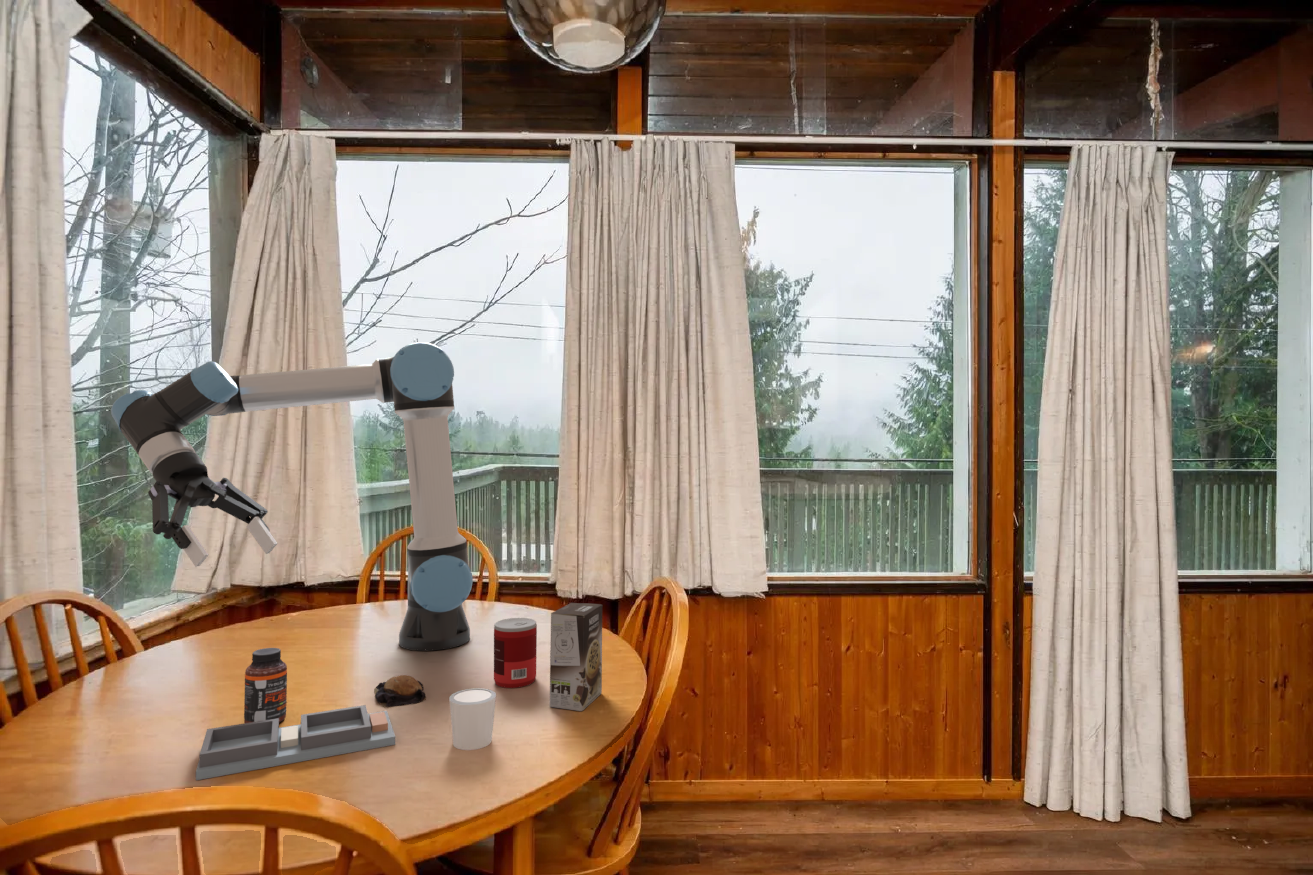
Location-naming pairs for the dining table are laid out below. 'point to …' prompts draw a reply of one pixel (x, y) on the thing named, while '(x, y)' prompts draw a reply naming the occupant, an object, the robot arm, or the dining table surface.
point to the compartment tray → (292, 740)
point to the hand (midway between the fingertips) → (239, 554)
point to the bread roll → (399, 691)
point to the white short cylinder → (472, 718)
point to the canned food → (515, 652)
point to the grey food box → (576, 656)
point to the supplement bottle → (265, 686)
